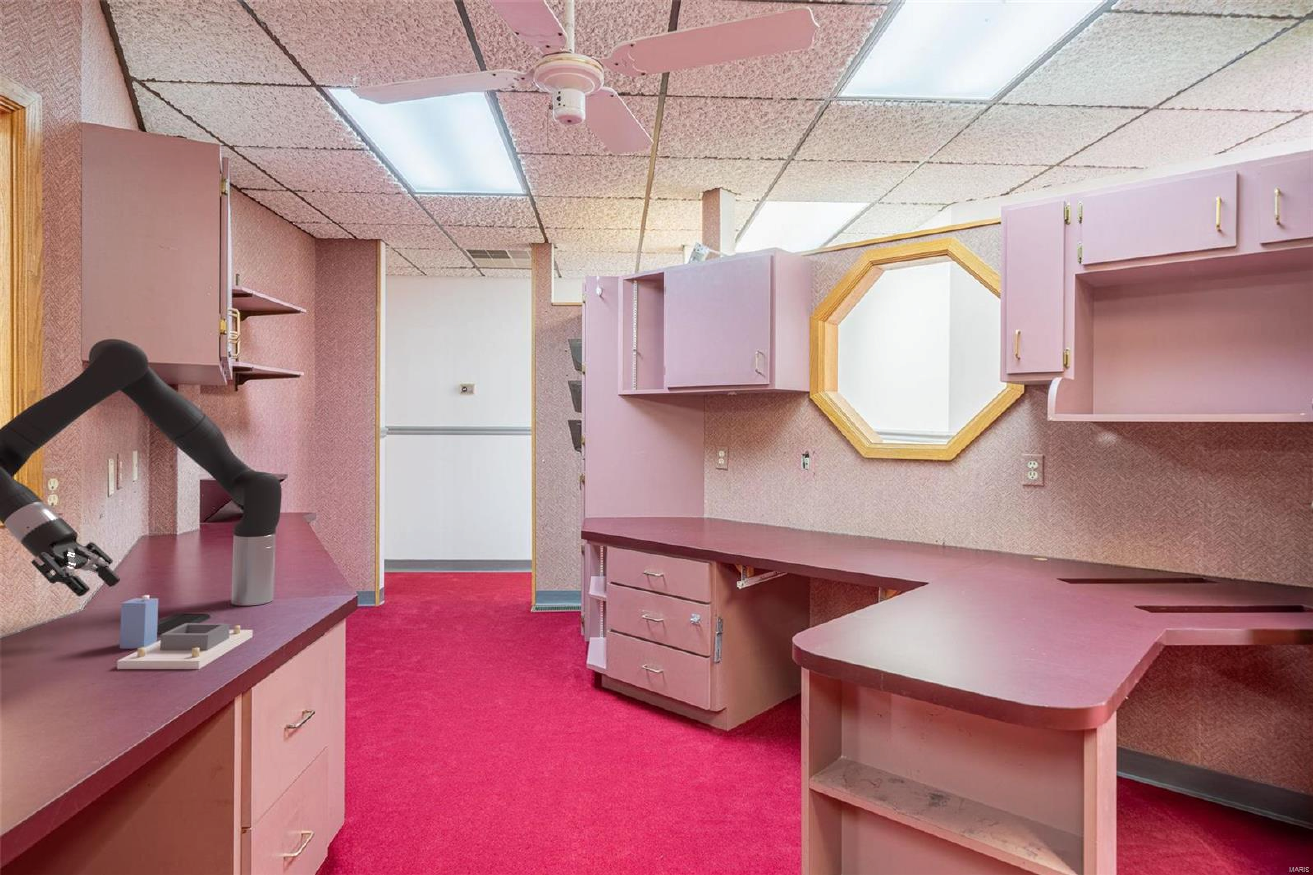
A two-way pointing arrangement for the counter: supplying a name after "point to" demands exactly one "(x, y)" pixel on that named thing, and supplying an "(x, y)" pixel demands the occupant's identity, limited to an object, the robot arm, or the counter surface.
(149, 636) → the block
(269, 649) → the counter surface
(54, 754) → the counter surface
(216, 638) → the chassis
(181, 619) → the phone
